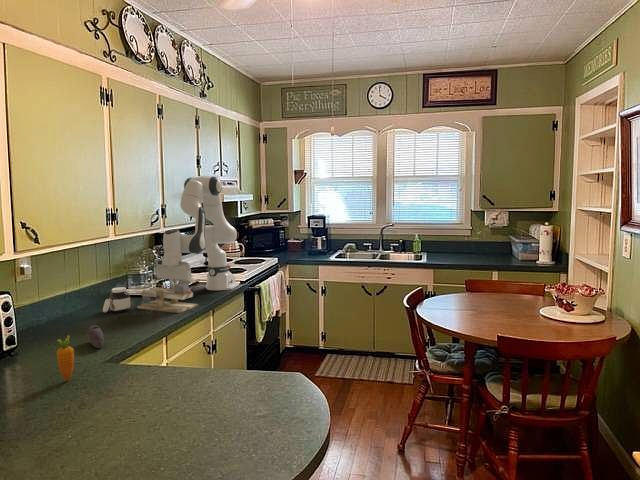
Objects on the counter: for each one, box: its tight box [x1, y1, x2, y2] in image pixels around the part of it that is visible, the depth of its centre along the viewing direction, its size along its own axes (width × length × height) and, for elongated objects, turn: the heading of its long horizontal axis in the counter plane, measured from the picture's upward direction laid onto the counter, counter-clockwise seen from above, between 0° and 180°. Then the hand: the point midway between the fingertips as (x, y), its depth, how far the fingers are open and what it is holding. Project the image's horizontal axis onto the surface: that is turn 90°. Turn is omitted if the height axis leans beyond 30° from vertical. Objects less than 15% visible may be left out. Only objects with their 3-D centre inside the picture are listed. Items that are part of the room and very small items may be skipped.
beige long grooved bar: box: [141, 287, 194, 302], centre depth 251 cm, size 8×27×6 cm, turn 67°
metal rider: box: [174, 284, 190, 294], centre depth 247 cm, size 4×6×4 cm, turn 67°
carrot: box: [56, 335, 75, 382], centre depth 156 cm, size 5×5×15 cm
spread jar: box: [102, 286, 131, 314], centre depth 244 cm, size 12×11×12 cm
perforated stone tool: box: [86, 324, 105, 349], centre depth 192 cm, size 15×5×7 cm, turn 34°
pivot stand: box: [136, 285, 199, 314], centre depth 251 cm, size 15×27×10 cm, turn 67°
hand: (174, 287), depth 249 cm, fingers closed
